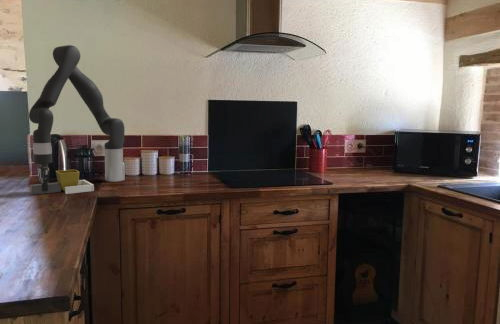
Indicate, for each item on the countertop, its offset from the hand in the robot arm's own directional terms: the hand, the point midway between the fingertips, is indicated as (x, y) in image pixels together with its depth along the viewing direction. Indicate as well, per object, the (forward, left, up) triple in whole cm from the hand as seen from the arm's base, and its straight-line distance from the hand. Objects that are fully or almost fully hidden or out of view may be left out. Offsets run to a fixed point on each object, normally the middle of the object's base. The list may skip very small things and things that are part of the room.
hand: (44, 190), depth 185 cm
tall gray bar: (-1, 0, -1) cm, 1 cm away
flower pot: (-10, -1, -1) cm, 11 cm away
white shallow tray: (-13, 0, -1) cm, 13 cm away
